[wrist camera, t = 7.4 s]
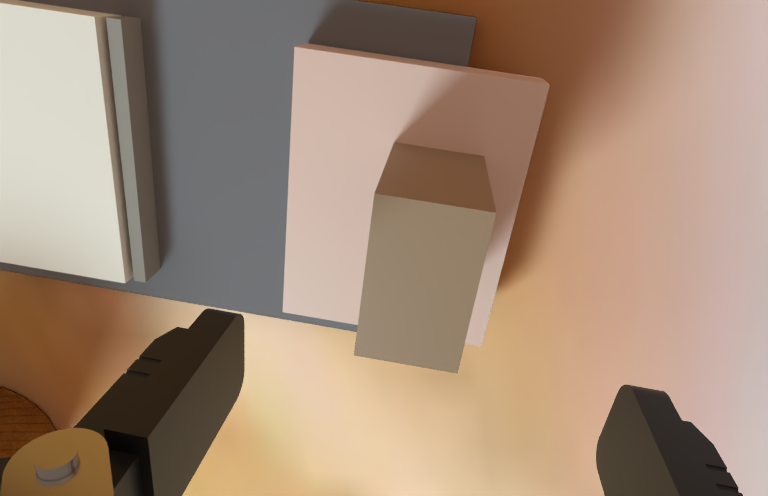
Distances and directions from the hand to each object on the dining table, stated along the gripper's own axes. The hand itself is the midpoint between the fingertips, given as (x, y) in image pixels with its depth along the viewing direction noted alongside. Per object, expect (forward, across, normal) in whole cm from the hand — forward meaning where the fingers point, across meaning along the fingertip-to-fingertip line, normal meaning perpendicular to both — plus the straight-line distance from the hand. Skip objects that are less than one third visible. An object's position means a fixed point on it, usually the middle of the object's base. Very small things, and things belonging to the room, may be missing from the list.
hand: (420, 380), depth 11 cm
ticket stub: (+10, +1, 0) cm, 10 cm away
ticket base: (+10, +12, -1) cm, 16 cm away
